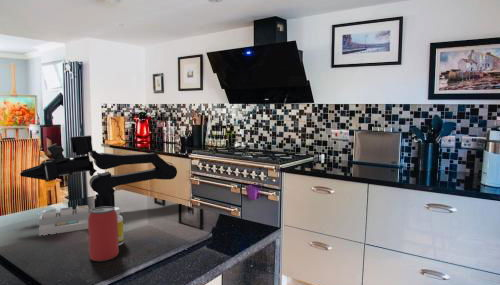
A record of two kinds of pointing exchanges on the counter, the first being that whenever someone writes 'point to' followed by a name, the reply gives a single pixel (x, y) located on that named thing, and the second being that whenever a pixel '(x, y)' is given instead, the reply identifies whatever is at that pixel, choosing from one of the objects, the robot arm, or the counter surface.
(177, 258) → the counter surface
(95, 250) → the beer can
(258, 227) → the counter surface
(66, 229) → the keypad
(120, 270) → the counter surface
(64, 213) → the key mid
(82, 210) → the key
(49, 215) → the key
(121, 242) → the supplement bottle
